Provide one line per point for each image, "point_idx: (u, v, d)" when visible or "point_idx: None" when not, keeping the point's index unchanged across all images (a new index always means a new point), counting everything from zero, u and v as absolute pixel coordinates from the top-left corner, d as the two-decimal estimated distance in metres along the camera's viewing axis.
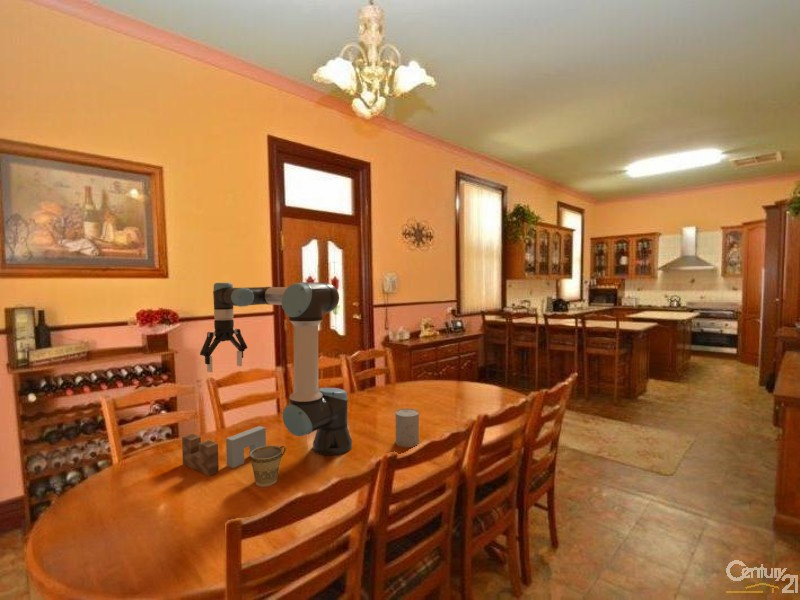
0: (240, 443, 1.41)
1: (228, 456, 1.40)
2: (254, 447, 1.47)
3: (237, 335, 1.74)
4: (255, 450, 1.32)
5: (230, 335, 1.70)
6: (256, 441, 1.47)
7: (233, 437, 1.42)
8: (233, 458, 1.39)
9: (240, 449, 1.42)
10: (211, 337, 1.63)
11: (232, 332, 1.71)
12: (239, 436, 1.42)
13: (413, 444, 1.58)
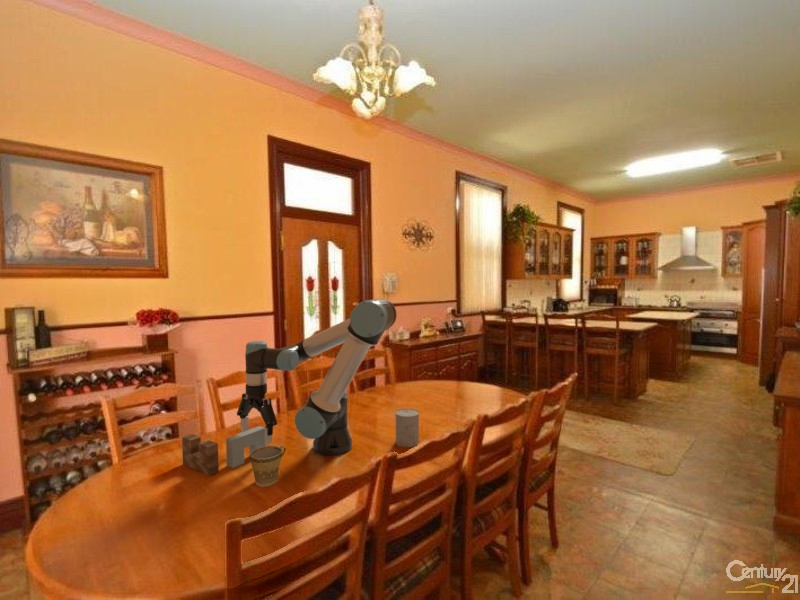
0: (240, 443, 1.41)
1: (228, 456, 1.40)
2: (254, 447, 1.47)
3: None
4: (255, 450, 1.32)
5: (255, 403, 1.46)
6: (256, 441, 1.47)
7: (233, 437, 1.42)
8: (233, 458, 1.39)
9: (240, 449, 1.42)
10: (242, 399, 1.51)
11: (259, 401, 1.46)
12: (239, 436, 1.42)
13: (413, 444, 1.58)
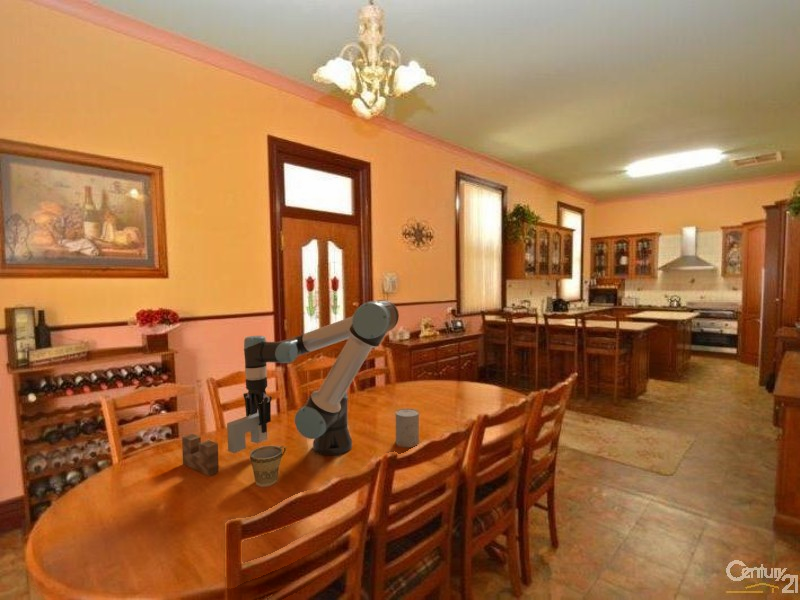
0: (241, 428, 1.41)
1: (229, 441, 1.40)
2: (255, 432, 1.47)
3: None
4: (255, 450, 1.32)
5: (255, 398, 1.46)
6: (257, 426, 1.47)
7: (234, 422, 1.41)
8: (234, 443, 1.39)
9: (241, 434, 1.41)
10: (245, 399, 1.51)
11: (259, 395, 1.46)
12: (240, 421, 1.42)
13: (413, 444, 1.58)
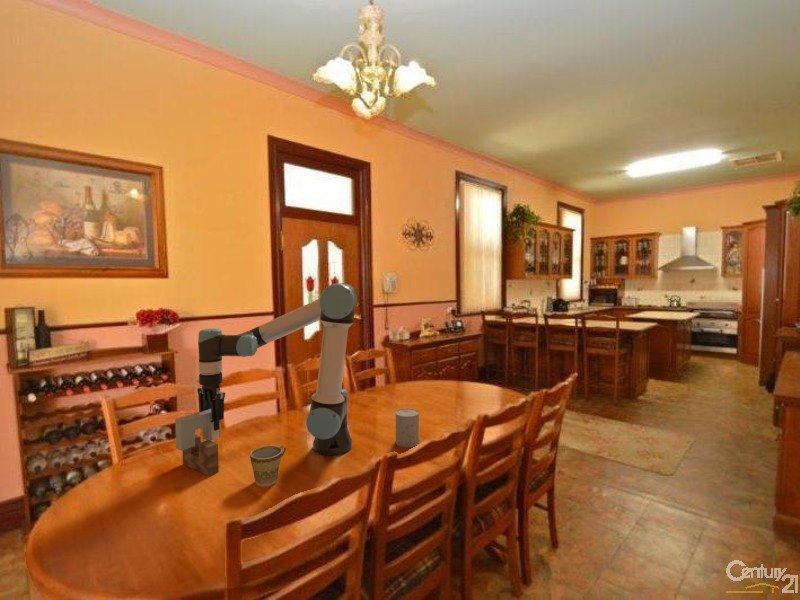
0: (190, 425, 1.34)
1: (177, 438, 1.33)
2: (207, 429, 1.40)
3: None
4: (255, 450, 1.32)
5: (208, 394, 1.40)
6: (209, 423, 1.40)
7: (183, 417, 1.34)
8: (182, 440, 1.32)
9: (190, 431, 1.34)
10: (199, 394, 1.44)
11: (213, 391, 1.39)
12: (190, 417, 1.35)
13: (413, 444, 1.58)
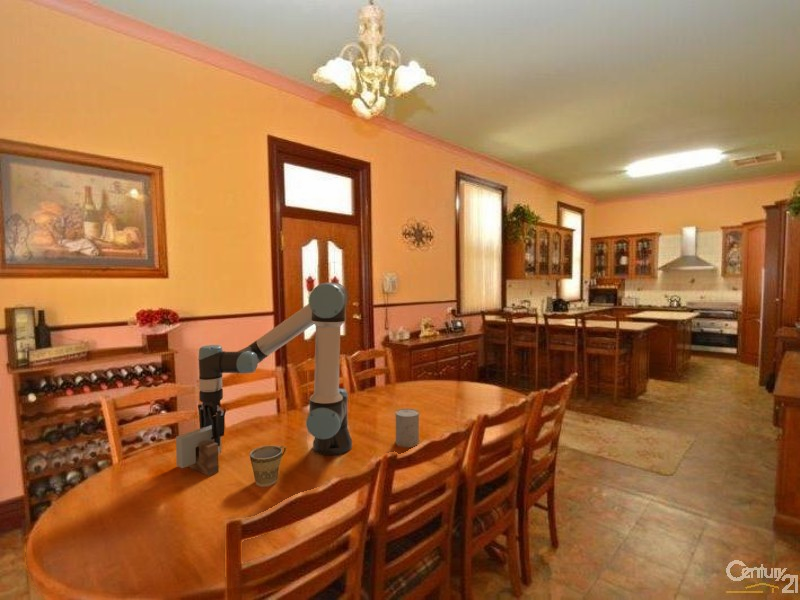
0: (191, 442, 1.35)
1: (178, 455, 1.34)
2: None
3: None
4: (255, 450, 1.32)
5: (208, 410, 1.40)
6: (210, 440, 1.40)
7: (184, 435, 1.35)
8: (182, 458, 1.32)
9: (191, 448, 1.35)
10: (199, 410, 1.44)
11: (213, 407, 1.40)
12: (190, 434, 1.35)
13: (413, 444, 1.58)
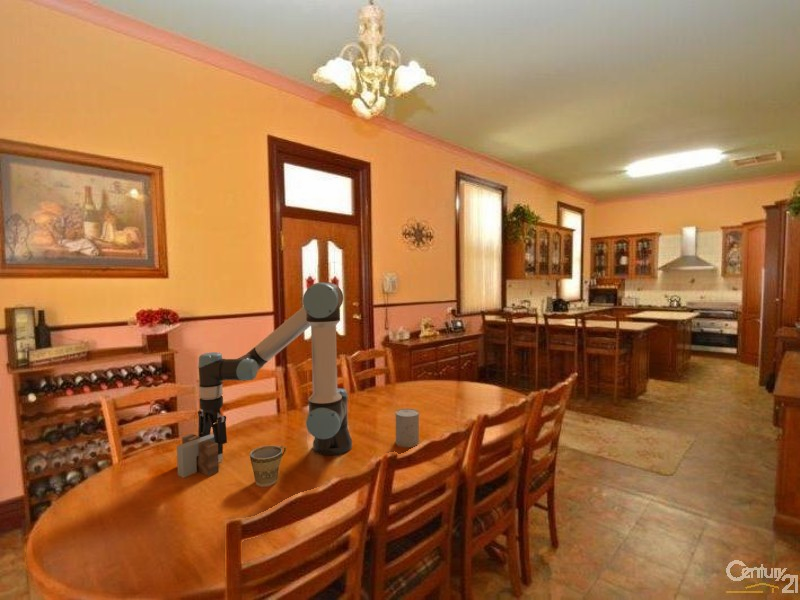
0: (192, 451, 1.35)
1: (179, 465, 1.34)
2: None
3: None
4: (255, 450, 1.32)
5: (209, 418, 1.40)
6: None
7: (185, 444, 1.35)
8: (183, 467, 1.33)
9: (192, 457, 1.35)
10: (199, 416, 1.45)
11: (213, 415, 1.40)
12: (191, 444, 1.36)
13: (413, 444, 1.58)
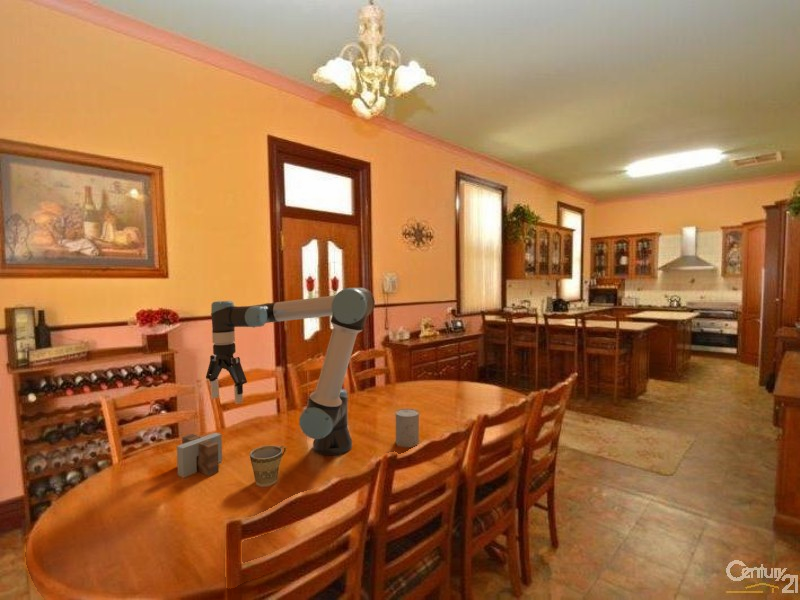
0: (192, 451, 1.35)
1: (179, 465, 1.34)
2: None
3: None
4: (255, 450, 1.32)
5: (223, 363, 1.44)
6: None
7: (185, 444, 1.35)
8: (183, 467, 1.33)
9: (192, 457, 1.35)
10: (211, 361, 1.49)
11: (227, 360, 1.44)
12: (191, 444, 1.36)
13: (413, 444, 1.58)
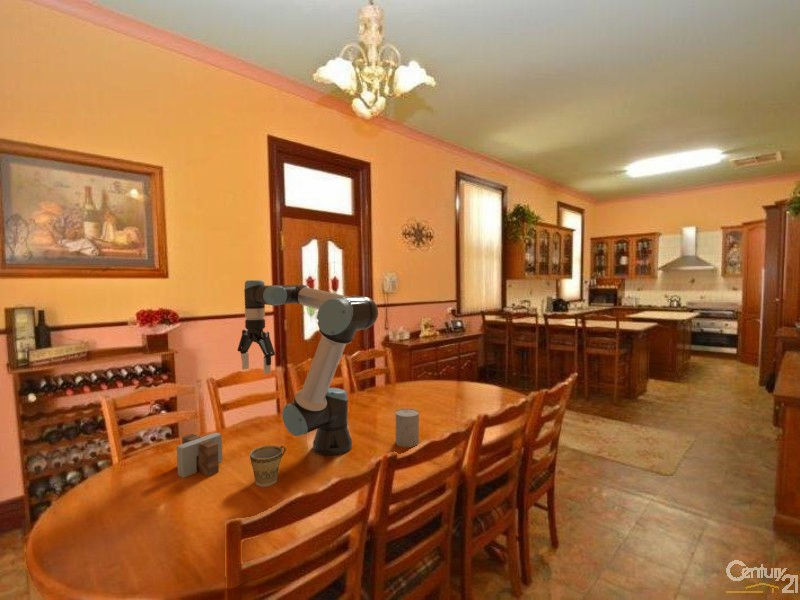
0: (192, 451, 1.35)
1: (179, 465, 1.34)
2: None
3: None
4: (255, 450, 1.32)
5: (254, 337, 1.58)
6: None
7: (185, 444, 1.35)
8: (183, 467, 1.33)
9: (192, 457, 1.35)
10: (242, 335, 1.63)
11: (258, 334, 1.58)
12: (191, 444, 1.36)
13: (413, 444, 1.58)
